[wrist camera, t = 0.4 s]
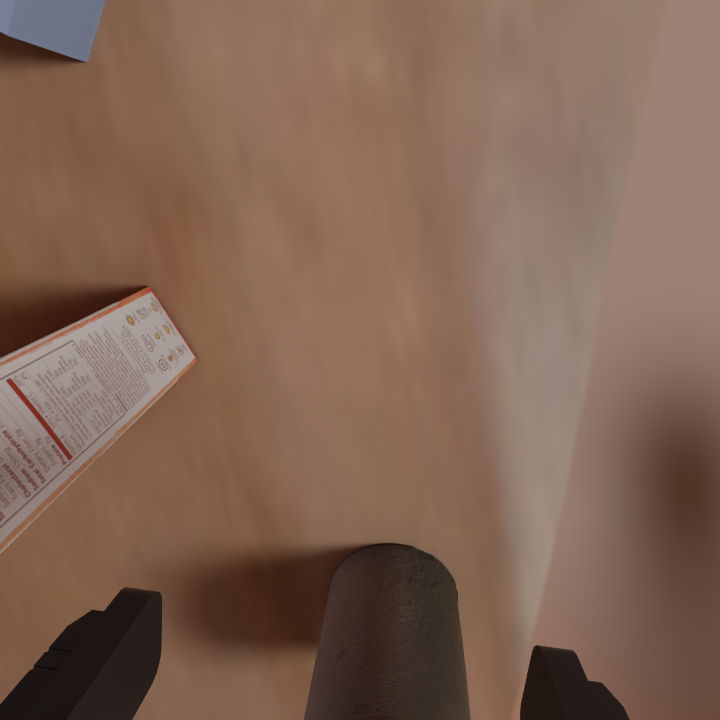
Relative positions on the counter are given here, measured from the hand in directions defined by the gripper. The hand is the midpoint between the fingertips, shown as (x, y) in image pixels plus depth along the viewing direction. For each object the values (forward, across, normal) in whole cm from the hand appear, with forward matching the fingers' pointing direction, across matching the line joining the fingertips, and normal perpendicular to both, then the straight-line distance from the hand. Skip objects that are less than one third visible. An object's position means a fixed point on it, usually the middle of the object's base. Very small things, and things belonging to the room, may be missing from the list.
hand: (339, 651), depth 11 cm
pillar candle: (+25, -3, +17) cm, 30 cm away
